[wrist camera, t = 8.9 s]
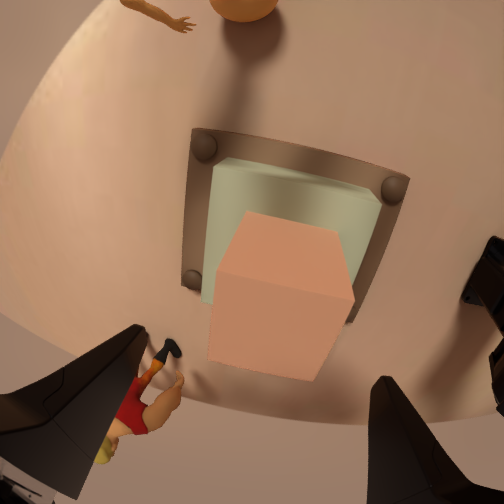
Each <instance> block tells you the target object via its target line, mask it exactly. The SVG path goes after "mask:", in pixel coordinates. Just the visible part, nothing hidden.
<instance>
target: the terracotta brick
mask: <svg viewBox="0 0 504 504" xmlns="http://www.w3.org/2000/svg"><path fill="white" fill-rule="evenodd" d="M354 302H355V298H354V294H353V290H352V285H351V281H350V277H349V273H348V269H347V265H346V261H345V257H344V253H343V250H342V246H341V242H340V239H339V235H338V232H336V231H332V230H328V229H324V228H320V227H316V226H312V225H307V224H303V223H299V222H294V221H290V220H286V219H281V218H277V217H272V216H268V215H263V214H258V213H254V212H249V211H246V213H245V215H244V217H243V219H242V221H241V223H240V224H239V226H238V228H237V230H236V232H235V234H234V236H233V238H232V240H231V242H230V244H229V246H228V248H227V250H226V252H225V254H224V256H223V258H222V260H221V262H220V264H219V266H218V268H217V270H216V279H215V288H214V297H213V306H212V316H211V325H210V336H209V346H208V357H207V360H211V361H215V362H219V363H223V364H227V365H231V366H235V367H239V368H243V369H248V370H252V371H257V372H262V373H267V374H272V375H277V376H282V377H288V378H293V379H299V380H306V381H312V382H313V381H314V379H315V377H316V376H317V374H318V372H319V370H320V369H321V367H322V365H323V363H324V361H325V360H326V358H327V356H328V354H329V352H330V350H331V348H332V347H333V345H334V343H335V341H336V339H337V337H338V335H339V333H340V331H341V329H342V327H343V325H344V323H345V321H346V319H347V317H348V315H349V313H350V311H351V308H352V306H353V304H354Z"/></svg>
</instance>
